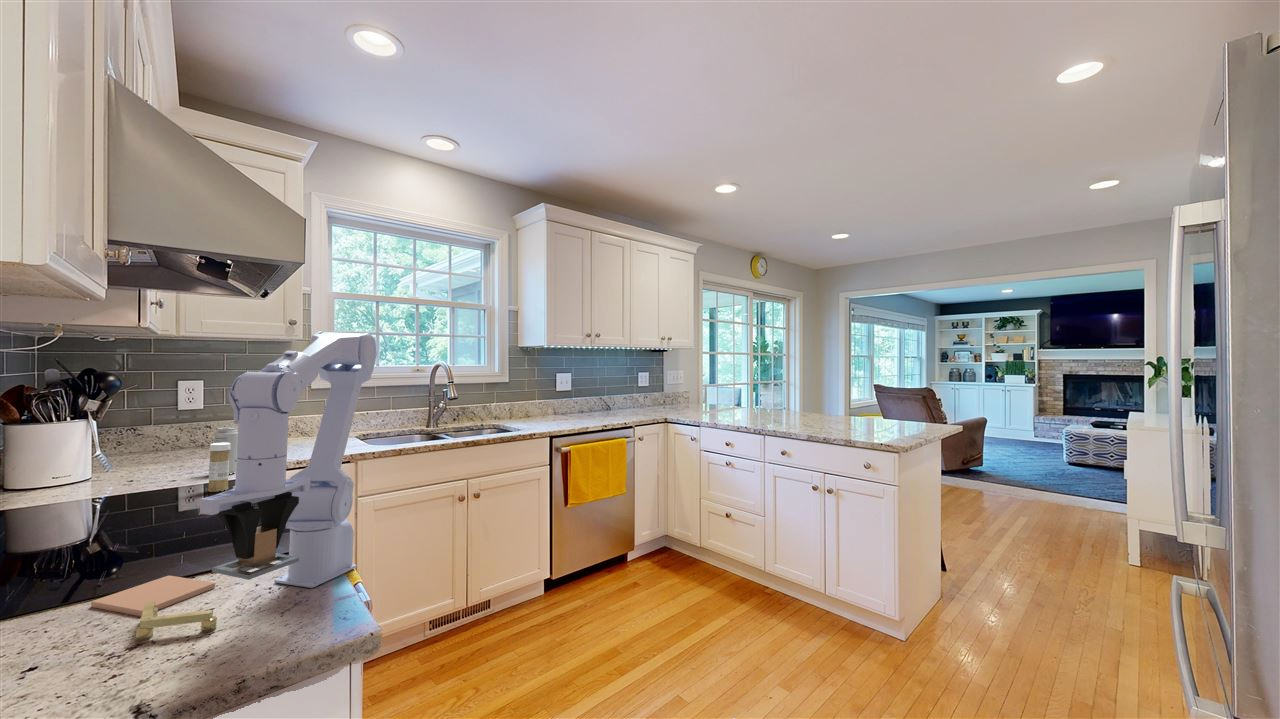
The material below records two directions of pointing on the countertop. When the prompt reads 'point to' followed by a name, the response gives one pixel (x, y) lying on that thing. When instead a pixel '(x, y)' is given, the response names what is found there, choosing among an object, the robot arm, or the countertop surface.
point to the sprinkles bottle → (219, 467)
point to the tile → (153, 594)
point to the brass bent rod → (171, 621)
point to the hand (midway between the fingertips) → (257, 552)
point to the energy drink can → (230, 437)
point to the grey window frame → (258, 557)
